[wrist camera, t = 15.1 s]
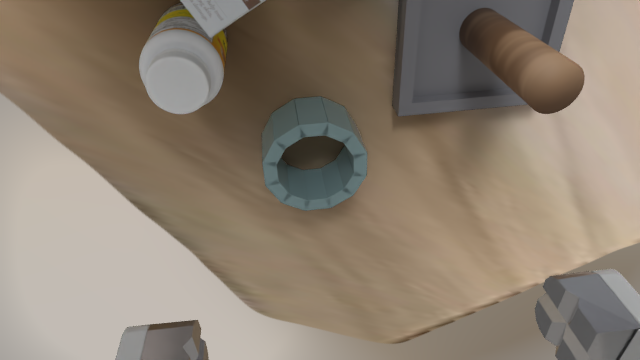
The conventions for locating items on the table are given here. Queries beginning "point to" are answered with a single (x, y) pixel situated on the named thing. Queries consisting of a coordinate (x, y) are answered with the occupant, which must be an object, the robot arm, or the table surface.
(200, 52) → the supplement bottle
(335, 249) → the table surface
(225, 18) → the skincare box
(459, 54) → the tray
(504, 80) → the dowel
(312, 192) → the tube
